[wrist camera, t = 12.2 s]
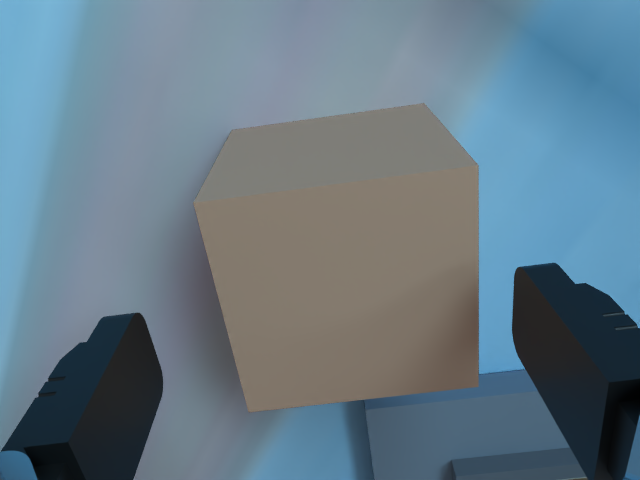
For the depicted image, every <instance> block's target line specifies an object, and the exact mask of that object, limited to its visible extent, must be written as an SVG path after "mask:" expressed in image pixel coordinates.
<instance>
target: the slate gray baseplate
mask: <svg viewBox="0 0 640 480" xmlns="http://www.w3.org/2000/svg"><path fill="white" fill-rule="evenodd" d="M364 404H365V412H366V420H367V428H368V435H369V443H370V451H371V458H372V466H373V474H374V480H568V479H578V478H587V477H586V475H585V473H584V472H583V470H582V468H581V466H580V464H579V463H578V461H577V459H576V457H575V456H574V454H573V452H572V450H571V449H570V447H569V445H568V443H567V442H566V440H565V438H564V436H563V434H562V433H561V431H560V429H559V427H558V426H557V424H556V422H555V420H554V419H553V417H552V415H551V413H550V412H549V410H548V408H547V406H546V404H545V403H544V401H543V399H542V397H541V396H540V394H539V392H538V390H537V389H536V387H535V385H534V383H533V382H532V380H531V378H530V376H529V374H528V373H527V371H526V370H518V371H509V372H500V373H491V374H482V375H479V387H473V388H464V389H455V390H446V391H437V392H428V393H419V394H410V395H401V396H392V397H383V398H374V399H365V400H364Z"/></svg>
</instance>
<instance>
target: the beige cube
mask: <svg viewBox="0 0 640 480" xmlns="http://www.w3.org/2000/svg"><path fill="white" fill-rule="evenodd" d="M193 204H194V208H195V211H196V215H197V219H198V223H199V227H200V230H201V234H202V238H203V242H204V245H205V249H206V253H207V257H208V261H209V264H210V268H211V272H212V276H213V279H214V283H215V287H216V291H217V295H218V298H219V302H220V306H221V310H222V313H223V317H224V321H225V325H226V329H227V332H228V336H229V340H230V344H231V348H232V351H233V355H234V359H235V363H236V366H237V370H238V374H239V378H240V382H241V385H242V389H243V393H244V397H245V400H246V404H247V408H248V412H257V411H266V410H275V409H284V408H293V407H302V406H311V405H320V404H329V403H338V402H347V401H356V400H365V399H374V398H383V397H392V396H401V395H410V394H419V393H428V392H437V391H446V390H455V389H464V388H473V387H479V208H478V164H477V163H476V162H475V161H474V160H473V158H472V157H471V156H470V155H469V154H468V153H467V152H466V150H465V149H464V148H463V147H462V146H461V145H460V144H459V142H458V141H457V140H456V139H455V138H454V137H453V136H452V134H451V133H450V132H449V131H448V130H447V129H446V128H445V126H444V125H443V124H442V123H441V122H440V121H439V120H438V118H437V117H436V116H435V115H434V114H433V113H432V112H431V111H430V109H429V108H428V107H427V106H426V105H425V104H424V103H423V104H416V105H409V106H401V107H394V108H387V109H380V110H372V111H365V112H358V113H351V114H344V115H336V116H329V117H322V118H315V119H308V120H300V121H293V122H286V123H279V124H271V125H264V126H257V127H250V128H243V129H235V130H232V131H231V133H230V135H229V137H228V138H227V140H226V142H225V144H224V146H223V148H222V150H221V152H220V154H219V155H218V157H217V159H216V161H215V163H214V165H213V167H212V169H211V170H210V172H209V174H208V176H207V178H206V180H205V182H204V184H203V186H202V187H201V189H200V191H199V193H198V195H197V197H196V199H195V201H194V202H193Z"/></svg>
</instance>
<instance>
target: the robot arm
mask: <svg viewBox="0 0 640 480" xmlns="http://www.w3.org/2000/svg"><path fill="white" fill-rule="evenodd" d="M512 334H513V341H514V345H515V349H516V352H517V354H518V357H519V359H520V360H521V362H522V364H523V366H524V367H525V369H526V371H527V373H528V374H529V376H530V378H531V380H532V382H533V383H534V385H535V387H536V389H537V390H538V392H539V394H540V396H541V397H542V399H543V401H544V403H545V404H546V406H547V408H548V410H549V412H550V413H551V415H552V417H553V419H554V420H555V422H556V424H557V426H558V427H559V429H560V431H561V433H562V434H563V436H564V438H565V440H566V442H567V443H568V445H569V447H570V449H571V450H572V452H573V454H574V456H575V457H576V459H577V461H578V463H579V464H580V466H581V468H582V470H583V472H584V473H585V475H586V477H587V479H588V480H640V328H638V327H637V324H636V323H635V322H634V321H633V320H632V319H631V318H630V317H629V316H628V315H625V314H624V311H623V310H622V308H621V307H620V306H619V305H618V304H617V303H616V302H615V301H614V300H613V299H612V298H611V297H610V296H609V295H607V294H605V293H603V292H602V291H600V290H598V289H596V288H594V287H592V286H590V285H588V284H586V283H581V284H575V283H574V282H573V281H572V280H571V279H570V278H569V276H568V275H567V274H566V273H565V272H564V271H563V270H562V269H561V267H560V266H559V265H558V264H556V263H548V264H540V265H532V266H524V267H518V268H517V269H516V271H515V276H514V296H513V319H512ZM162 392H163V376H162V370H161V367H160V364H159V361H158V358H157V355H156V352H155V349H154V346H153V343H152V340H151V337H150V334H149V331H148V328H147V325H146V322H145V319H144V317H143V316H142V315H141V314H140V313H131V314H123V315H115V316H106V317H103V318H102V319H101V320H100V321H99V323H98V324H97V326H96V328H95V329H94V331H93V333H92V334H91V336H90V338H89V339H88V341H87V342H83V343H79V344H78V345H77V346H76V347H75V348H73V349H72V350H71V351H70V352H69V353H68V354H66V355H65V356H64V357H63V358H62V359H61V360H60V361H59V362H58V364H57V365H56V367H55V369H54V370H53V372H52V373H51V375H50V376H49V378H48V382H45V384H44V386H43V387H42V389H41V390H40V392H39V393H38V395H39V396H38V397H37V398H35V399H34V401H33V403H32V404H31V406H30V407H29V409H28V410H27V412H26V413H25V415H24V416H23V418H22V420H21V421H20V423H19V424H18V426H17V427H16V429H15V430H14V432H13V433H12V435H11V437H10V438H9V440H8V441H7V443H6V444H5V446H4V447H3V449H2V450H1V452H0V480H133V479H134V476H135V473H136V470H137V467H138V464H139V461H140V458H141V455H142V452H143V450H144V447H145V444H146V441H147V438H148V435H149V432H150V429H151V426H152V423H153V421H154V418H155V415H156V412H157V409H158V406H159V403H160V400H161V397H162Z"/></svg>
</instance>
